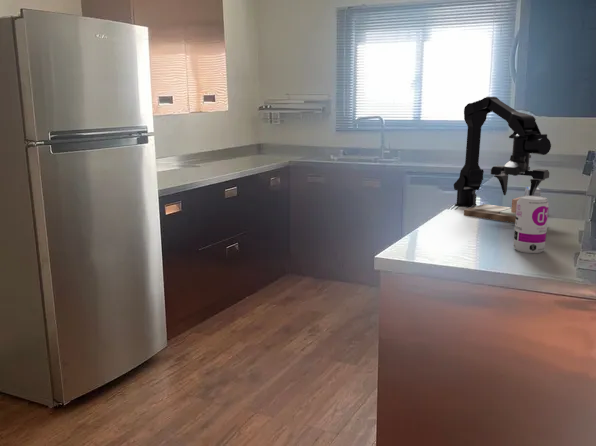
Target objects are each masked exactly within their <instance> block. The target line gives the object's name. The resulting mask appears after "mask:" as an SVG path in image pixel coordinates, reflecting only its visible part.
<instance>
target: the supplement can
mask: <svg viewBox="0 0 596 446" xmlns="http://www.w3.org/2000/svg"><path fill="white" fill-rule="evenodd" d="M519 197H520V198H519V200H518V201H517V209H516V221H515V223H514V237H513V244H512V247H513V248H514V249H515V251H517V252H519V253H520V252H521V253H525V254H540V253H542V252H543V251H545V250H546V241H547V240H546V239H547V231H548V230H547V228H548V220H549V219H548V217H549V209H550V208H549V207H550V203H549V201H548V198H547V197H545V196H525V195H520V196H519Z"/></svg>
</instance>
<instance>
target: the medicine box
mask: <svg viewBox="0 0 596 446" xmlns="http://www.w3.org/2000/svg"><path fill="white" fill-rule="evenodd" d="M530 187H531V186H525V188H524V189H525V190H524V196H529V193H530ZM541 193H542V190H541V188H539V186H538V187H537V189H536V190H535V192H534V194H533V196H541ZM541 197H542V196H541Z"/></svg>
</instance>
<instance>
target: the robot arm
mask: <svg viewBox="0 0 596 446" xmlns="http://www.w3.org/2000/svg"><path fill="white" fill-rule="evenodd" d="M491 112H493V113H494V114H495V115H497V116H498V117H500V118H501V119H502V120H504V121H506V122H507V125H508V128H510V129H511V130H512V134H510V135H509V136H508V138H509V139H513V140H512V144H513V145H512V152H511V153H512V154H511V155H510V158H509V161H507V162H506V163H505V164H504V165H493V166H492V167H491V169H490V175H493V177H494V178H497V180H498V181H499V183H500V187H501V191H502V195H503V196H506V195H507V191H508V183H509V182H508V181H509V176H510V175H511V176H514V177H515V176H517V177H518V176H525V177H526V176H528V177H531V178H530V180H529V181H530V186H529V187H530V193H529V196H533V194H534V192H535V190H536V189H537V187H538V188H539V186H540V184H541V183H542V181H545V180H546V179H549V178H550V171H549V169H541V168H536V169H532V170H531V167H530V166H529V165H530V159H531V158H532V155H533V154H534V155H542V156H545V155H547V154H548V153H550V151H551V149H552V148H551V147H552V143H551V141H550V139H549V138H548V134H547V133H543V134H542V133H541V130H540V128H539V126H538V124H537V122H536V120H537V119H536V117H534V115H531V114H528V113H524V112H519V111H517V110H515V109H514V108H512V107H510V106H509V105H508V104H506V103H504V102H503V101H502V100H500V98H498V97H497V96H485V97H483V98H482V99H478V100H476V101H473V102H469V103H467V104H466V105H465V106H464V109H463V118H464V122H465V124H466V126H467V134H466V135H467V137H466V146H465V147H466V148H465V149H466V150H465V161H464V165H463V166H462V168H461V170H460V172H459V177H458V179H457V180H456V181H455V182H454V184H453V189H454V191H457V193H456V203H454V206H460V207H467V208H472V207H476V206H478V205H477V194H476V191H479V190H480V187H481V185H482V182H483V180H484V172H485V171H484V169H481V167H480V164H479V162H480V160H479V159H480V149H481V137H482V136H481V135H482V127H483V125H484V124H485V122H486V120H487V116H488V114H491ZM531 154H532V155H531Z"/></svg>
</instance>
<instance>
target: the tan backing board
mask: <svg viewBox="0 0 596 446" xmlns="http://www.w3.org/2000/svg"><path fill="white" fill-rule="evenodd" d="M511 208H512V206H511V207H510V206H509V207H508V206H501V205H493V204H486V203H485V204H484V203H483V204H480V205H475V206H472V207H468V208H465V209H463V216H466V217H472V218H479V219H486V220H493V221H498V220H500V221H499V222H505V221H508V222H507V223H511V222H514V223H513V224H515V221H516V216H514V215H507V214H500V212H501V211H504V210H508V209H511Z"/></svg>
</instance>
